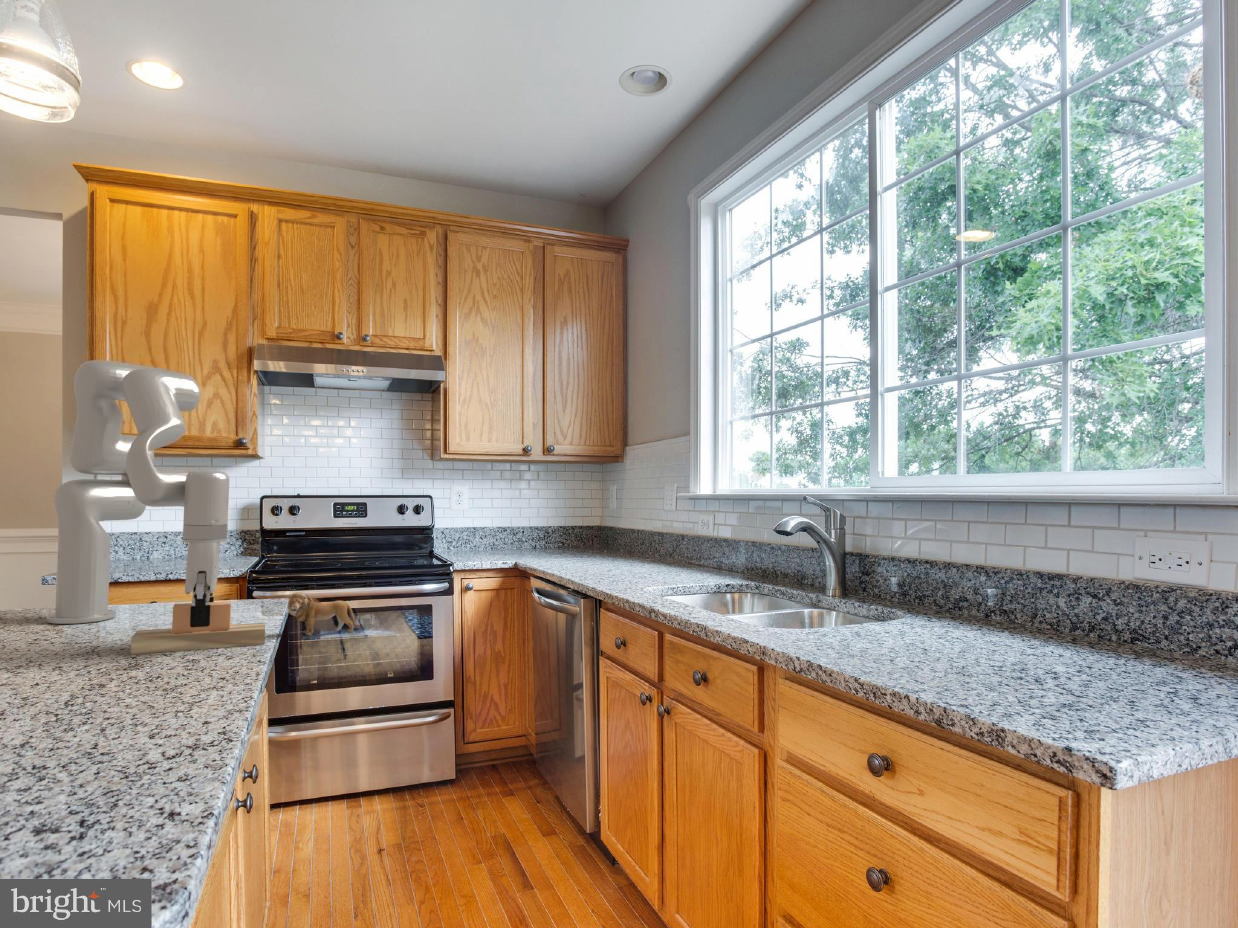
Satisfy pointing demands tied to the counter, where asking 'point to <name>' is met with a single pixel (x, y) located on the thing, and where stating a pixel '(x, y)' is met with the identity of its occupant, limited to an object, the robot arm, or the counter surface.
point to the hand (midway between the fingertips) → (201, 621)
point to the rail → (197, 639)
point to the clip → (218, 618)
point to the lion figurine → (319, 611)
